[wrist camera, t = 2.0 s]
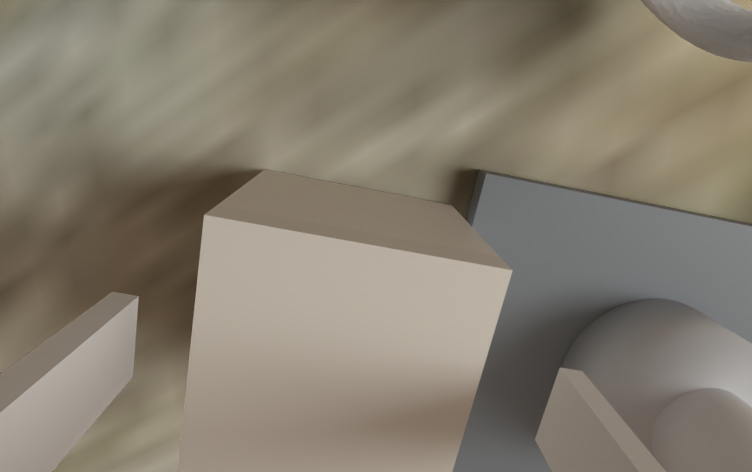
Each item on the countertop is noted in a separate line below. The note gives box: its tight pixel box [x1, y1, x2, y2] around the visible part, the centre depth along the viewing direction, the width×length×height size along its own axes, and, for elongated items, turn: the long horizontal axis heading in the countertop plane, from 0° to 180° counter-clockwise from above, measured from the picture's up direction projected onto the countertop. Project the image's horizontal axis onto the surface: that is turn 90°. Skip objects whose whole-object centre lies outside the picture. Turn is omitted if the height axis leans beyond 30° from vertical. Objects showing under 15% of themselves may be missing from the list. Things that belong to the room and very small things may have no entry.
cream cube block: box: [177, 169, 513, 472], centre depth 17 cm, size 8×8×8 cm
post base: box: [452, 169, 752, 472], centre depth 18 cm, size 20×16×10 cm
